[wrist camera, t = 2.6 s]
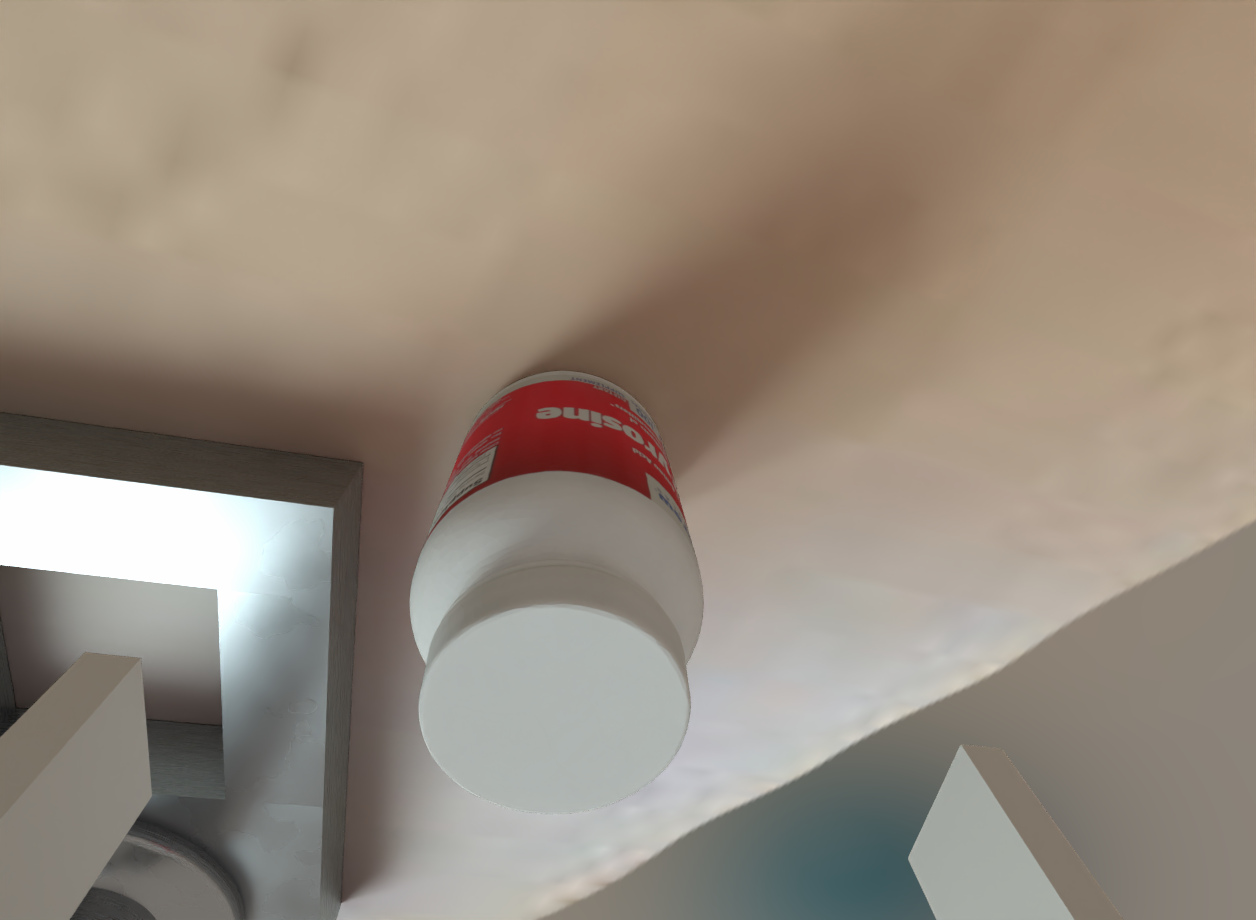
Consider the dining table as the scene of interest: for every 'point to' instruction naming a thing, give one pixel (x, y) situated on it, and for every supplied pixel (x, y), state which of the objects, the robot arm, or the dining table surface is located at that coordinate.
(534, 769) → the pill bottle
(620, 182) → the dining table surface
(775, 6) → the dining table surface
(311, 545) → the rosette post
